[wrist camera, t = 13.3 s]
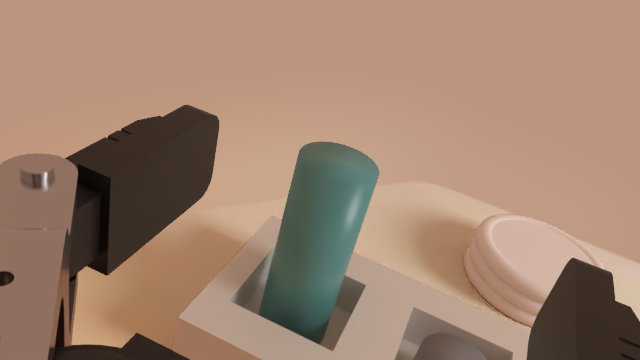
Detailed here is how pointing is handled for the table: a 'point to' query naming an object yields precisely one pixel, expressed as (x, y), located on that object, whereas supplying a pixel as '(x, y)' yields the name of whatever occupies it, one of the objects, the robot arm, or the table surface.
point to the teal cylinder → (317, 236)
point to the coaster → (520, 263)
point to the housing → (340, 317)
